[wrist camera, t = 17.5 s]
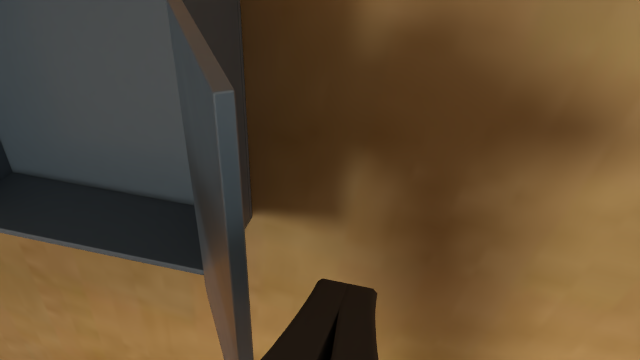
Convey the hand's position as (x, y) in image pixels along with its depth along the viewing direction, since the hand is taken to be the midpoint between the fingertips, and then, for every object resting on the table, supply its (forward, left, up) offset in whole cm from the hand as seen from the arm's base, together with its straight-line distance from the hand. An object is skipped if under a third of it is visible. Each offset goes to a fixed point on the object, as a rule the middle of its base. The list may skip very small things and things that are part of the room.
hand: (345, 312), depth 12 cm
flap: (+4, +3, -2) cm, 5 cm away
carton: (+10, +8, -10) cm, 16 cm away
